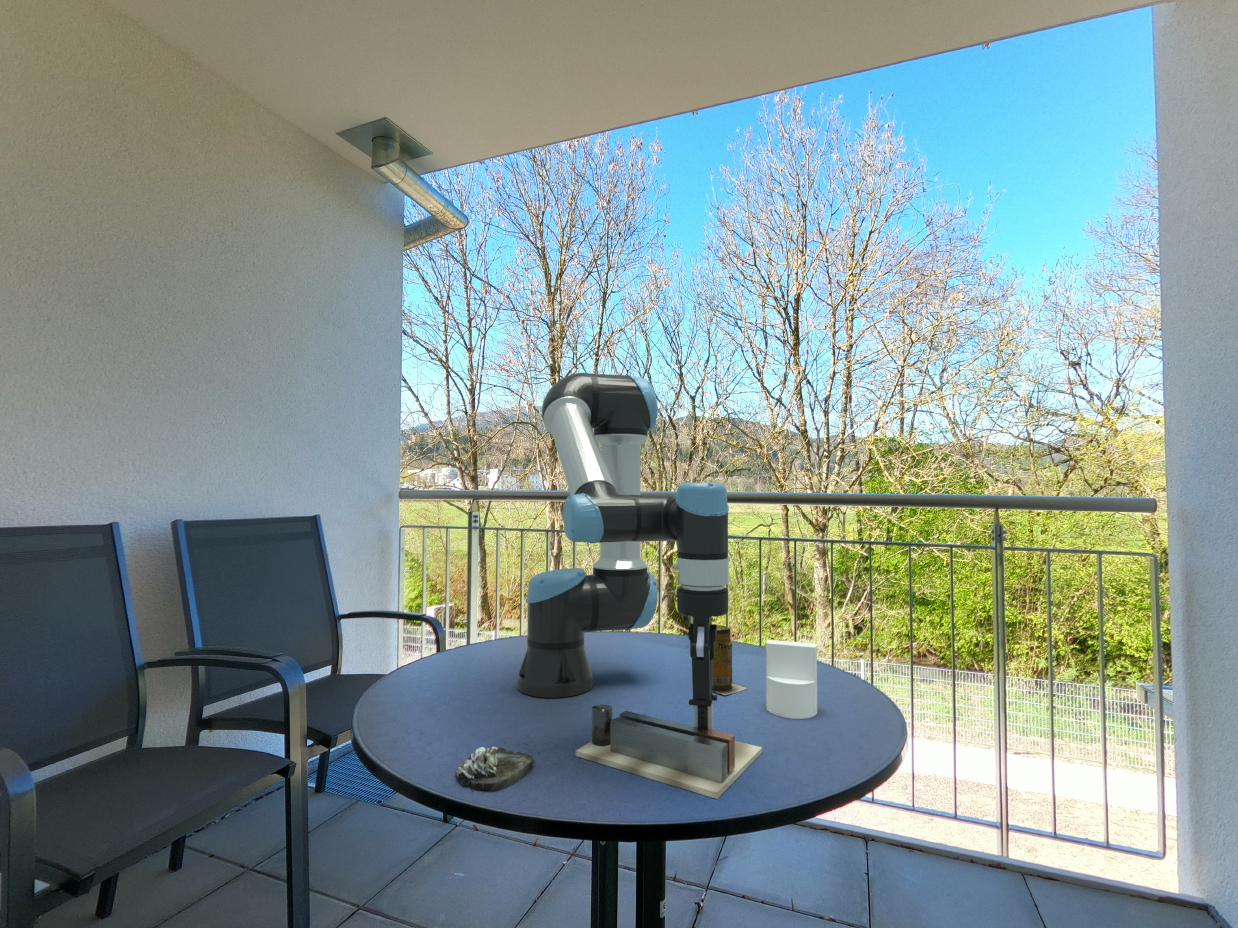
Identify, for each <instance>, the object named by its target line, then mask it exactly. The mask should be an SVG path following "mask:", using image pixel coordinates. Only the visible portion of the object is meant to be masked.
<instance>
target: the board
mask: <svg viewBox="0 0 1238 928" xmlns="http://www.w3.org/2000/svg"><path fill="white" fill-rule="evenodd" d="M610 746H611V744H610V745H608V746H596V745H594V744H592V740H591V741H589V742H588V743H586V744H584V745H583V746H581V747H579V748H578V749H576V750H575V757H578V758H581V759H585V760H587V761H591V762H594V763H598V764H601V765H604V766H607V767H611V768H613V769H618V770H621V771H624V772H627V773H631V774H634V775H637V776H640V777H643V778H647V779H650V780H653V781H656V782H660V783H663V784H666V785H669V786H673V787H676V788H679V789H683V790H685V791H689V792H693V793H696V794H699V795H702V796H706V797H709V798H712V799H714V800H715V799H716V800H718V799H719V798H720V797H721V796H722V794H724V793H725V792H726V790H728V788H729V787H730V786H731V785H732V784H733V783H734V782H735V781H736V780H737V779H738V778H739V777H740V776H741V775H742V774H743V773H744V772H745V771H746V770H747V769H748V768H749V767H750V766H751V765H752V764H753V763H754V762H755V760H757V759H758V757H759V756H760V755H762V753H763V747H762V746H759V745H754V744H750V743H746V742H741V741H738V740H735V769H734V770H733V771H732V772H731V773H730V774H728V773H727V779H726V780H725V781H724V782H723V783H722V784H721V783H717V782H714V781H710V780H707V779H703V778H700V777H697V776H693V775H690V774H687V773H684V772H680V771H677V770H674V769H670V768H667V767H663V766H660V765H656V764H653V763H649V762H646V761H642V760H639V759H635V758H632V757H628V756H625V755H621V754H618V753H615V752H611V751H610Z"/></svg>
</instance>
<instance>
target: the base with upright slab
mask: <svg viewBox="0 0 1238 928" xmlns="http://www.w3.org/2000/svg"><path fill="white" fill-rule="evenodd" d="M817 647H818V645H817V643H813V642H812V643H811V642H801V641H800V642H799V641H790V640H789V641H787V640H778V639H767V640H766V642H765V650H766V651H765V654H766V655H765V661H766V662H765V670H766V671H765V674H766V675H765V685H766V686H765V687H766V688H765V690H766V691H765V692H766V693H765V694H766V695H765V698H766V699H765V700H766V702H765V704H766V710H767V711H768V712H769V713H771V714H773V715H776V716H778V717H781V718H785V719H786V718H787V719H792V720H794V719H796V720H798V719H799V720H801V719H802V720H803V719H805V720H806V719H811V718H813V717H815V716H817V714H818V658H817V657H818V652H817V651H818V648H817Z"/></svg>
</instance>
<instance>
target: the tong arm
mask: <svg viewBox="0 0 1238 928" xmlns="http://www.w3.org/2000/svg"><path fill="white" fill-rule="evenodd" d="M618 715H619V717H618V718H622V719H626V720H630V721H634V722H638V723H643V724H647V725H651V726H655V727H659V728H663V729H667V730H671V731H675V732H679V733H683V734H687V735H691V736H694V735H695V736H699V737H703V738H707V739H711V740H715V741H719V742H723V743H727V773H728V774H730V773H731V772H732V771H733V770H734V769H735V741H736V735H735V734H732V733H728V732H723V731H719V730H716V729H715V730H714V729H713V730H711V729H708V730H707V729H698V727H694V725H688V724H685V723H680V722H676V721H671V720H667V719H662V718H658V717H655V716H650V715H645V714H643V713H642V714H641V713H639V712H638V713H637V712H632V711H628V710H623V711H622V712H621V713H619V714H618Z"/></svg>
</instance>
